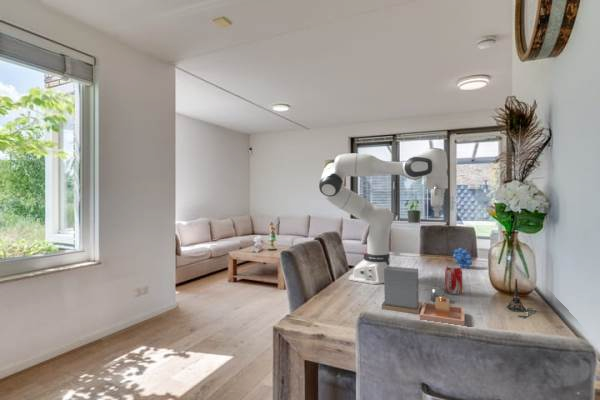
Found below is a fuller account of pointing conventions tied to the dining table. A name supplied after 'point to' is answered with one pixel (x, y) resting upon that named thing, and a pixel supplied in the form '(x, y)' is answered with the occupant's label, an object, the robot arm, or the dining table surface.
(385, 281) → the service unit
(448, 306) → the oak wood brick
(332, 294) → the dining table surface
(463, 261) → the grapes
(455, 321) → the tray
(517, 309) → the eiffel tower figurine
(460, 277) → the soda can
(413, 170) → the robot arm
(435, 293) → the steel cylinder
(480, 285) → the dining table surface
